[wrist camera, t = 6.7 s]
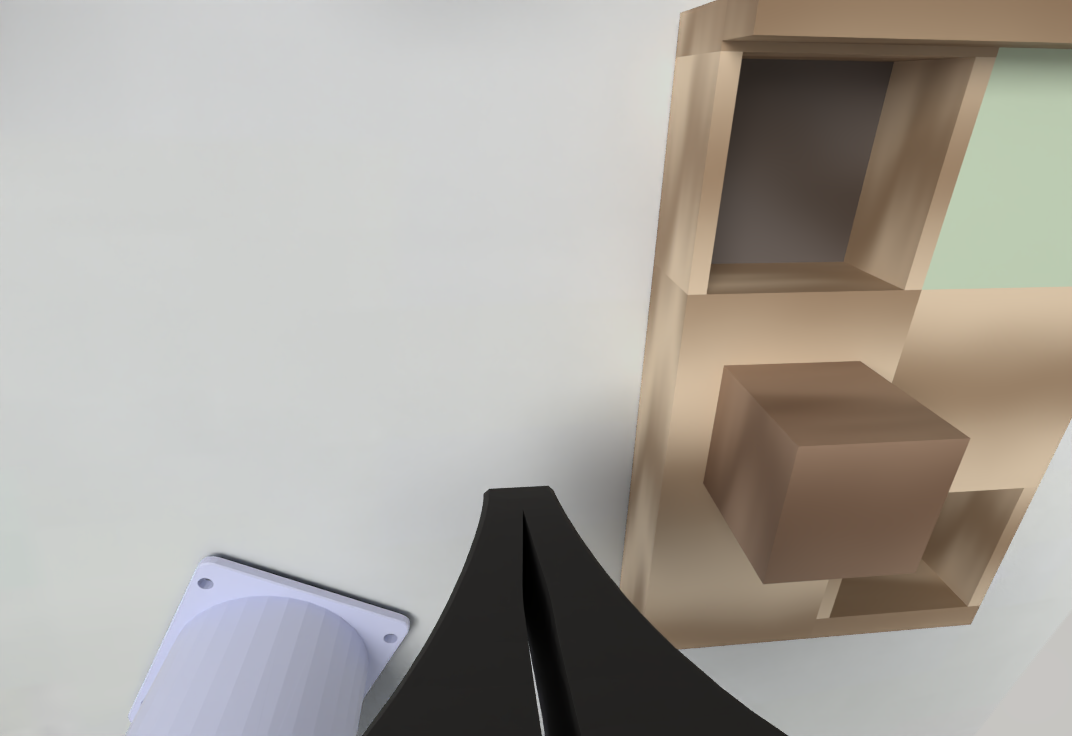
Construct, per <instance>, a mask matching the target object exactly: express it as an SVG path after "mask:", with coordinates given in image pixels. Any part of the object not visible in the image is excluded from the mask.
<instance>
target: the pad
mask: <svg viewBox="0 0 1072 736" xmlns="http://www.w3.org/2000/svg"><path fill="white" fill-rule="evenodd" d="M1027 287H1072V49H1046V48H1006V47H999V50H998V54H997V57H996V60H995V63H994V66H993V69H992V72H991V75H990V79H989V82H988V85H987V88H986V91H985V94H984V97H983V100H982V103H981V107H980V110H979V113H978V116H977V119H976V122H975V125H974V128H973V132H972V135H971V138H970V141H969V144H968V147H967V150H966V153H965V156H964V160H963V163H962V166H961V169H960V172H959V175H958V178H957V181H956V185H955V188H954V191H953V194H952V197H951V200H950V203H949V206H948V209H947V213H946V216H945V219H944V222H943V225H942V228H941V231H940V234H939V238H938V241H937V244H936V247H935V250H934V253H933V256H932V259H931V263H930V266H929V269H928V272H927V275H926V278H925V281H924V284H923V287H922V290H936V289H980V288H1027Z"/></svg>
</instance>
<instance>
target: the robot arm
mask: <svg viewBox="0 0 1072 736" xmlns="http://www.w3.org/2000/svg"><path fill="white" fill-rule="evenodd" d="M204 578H207V579H210V580H212V581H210V580H206V579H204ZM409 627H410V621H409V619H408V618H407V617H406V616H404V615H402V614H400V613H396V612H393V611H390V610H387V609H384V608H380V607H377V606H374V605H371V604H368V603H364V602H361V601H358V600H355V599H352V598H348V597H345V596H342V595H339V594H336V593H332V592H329V591H326V590H323V589H320V588H316V587H313V586H310V585H307V584H304V583H300V582H297V581H294V580H291V579H288V578H284V577H281V576H278V575H275V574H272V573H268V572H265V571H262V570H259V569H255V568H252V567H249V566H246V565H243V564H239V563H236V562H233V561H230V560H227V559H223V558H220V557H216V556H209V557H205V558H203V559H202V560H201V561H200V562H199V564H198V566H197V568H196V570H195V572H194V574H193V576H192V578H191V580H190V583H189V585H188V587H187V589H186V591H185V593H184V596H183V598H182V600H181V602H180V604H179V606H178V609H177V611H176V613H175V615H174V617H173V619H172V621H171V624H170V626H169V628H168V630H167V632H166V634H165V637H164V639H163V641H162V643H161V645H160V647H159V650H158V652H157V654H156V656H155V658H154V660H153V663H152V665H151V667H150V669H149V671H148V673H147V676H146V678H145V680H144V682H143V684H142V686H141V689H140V691H139V693H138V695H137V697H136V699H135V701H134V704H133V706H132V708H131V710H130V712H129V714H128V718H129V720H130V722H132V723H131V725H130V727H129V729H128V731H127V732H126V734H125V736H357V731H358V725H359V719H360V713H361V708H362V702H363V699H364V697H365V696H366V694H367V693H368V691H369V690H370V688H371V687H372V685H373V684H374V682H375V681H376V679H377V678H378V676H379V675H380V673H381V672H382V670H383V669H384V667H385V666H386V665H387V663H388V662H389V660H390V659H391V657H392V656H393V654H394V653H395V651H396V650H397V648H398V647H399V645H400V644H401V642H402V641H403V639H404V638H405V636H406V635H407V634H408V631H409ZM390 634H393V635H390ZM528 643H529V645H528ZM529 648H530V652H529ZM530 653H531V659H532V664H533V669H534V675H535V680H536V686H537V691H538V696H539V702H540V707H541V712H542V718H543V725H544V732H545V736H788V735H786V734H785V733H783V732H782V731H780V730H779V729H778V728H776V727H775V726H773V725H772V724H770V723H769V722H767V721H766V720H764V719H763V718H761V717H760V716H758V715H757V714H755V713H754V712H753V711H751V710H750V709H749V708H747V707H746V706H745V705H743V704H742V703H741V702H739V701H738V700H737V699H736V698H734V697H733V696H732V695H730V694H729V693H728V692H727V691H725V690H724V689H723V688H721V687H720V686H719V685H718V684H717V683H716V682H714V681H713V680H712V679H711V678H710V677H709V676H707V675H706V674H705V673H704V672H703V671H702V670H701V669H699V668H698V667H697V666H696V665H695V664H694V663H692V662H691V661H690V660H689V659H688V658H687V657H685V656H684V655H683V654H682V653H681V652H680V651H679V650H677V649H676V648H675V647H674V646H673V645H672V644H671V643H670V642H669V641H668V640H667V639H666V638H665V637H664V636H663V635H662V634H661V633H660V632H659V631H658V630H657V629H656V628H655V627H654V626H653V625H652V624H651V623H650V622H649V621H648V620H647V619H646V618H645V617H644V616H643V615H642V614H641V613H640V612H639V610H638V609H637V608H636V607H635V606H634V605H633V604H632V603H631V602H630V600H629V599H628V598H627V597H626V596H625V595H624V594H623V592H622V591H621V590H620V589H619V588H618V586H617V585H616V584H615V583H614V581H613V580H612V579H611V578H610V576H609V575H608V574H607V573H606V571H605V570H604V569H603V568H602V566H601V565H600V564H599V562H598V561H597V560H596V558H595V557H594V555H593V554H592V553H591V551H590V550H589V548H588V547H587V546H586V544H585V543H584V541H583V540H582V539H581V537H580V536H579V534H578V533H577V531H576V529H575V528H574V526H573V525H572V523H571V521H570V520H569V518H568V517H567V515H566V513H565V512H564V510H563V508H562V506H561V505H560V503H559V501H558V499H557V497H556V495H555V493H554V491H553V490H552V489H551V488H550V487H549V486H536V487H517V488H498V489H489V490H488V491H486V492H485V493H484V499H483V507H482V512H481V517H480V521H479V524H478V528H477V531H476V534H475V537H474V540H473V543H472V546H471V548H470V551H469V554H468V557H467V559H466V562H465V565H464V567H463V569H462V572H461V574H460V576H459V578H458V581H457V583H456V585H455V587H454V589H453V592H452V594H451V596H450V598H449V600H448V602H447V604H446V606H445V608H444V610H443V612H442V614H441V616H440V618H439V620H438V622H437V624H436V625H435V627H434V629H433V631H432V633H431V634H430V636H429V638H428V640H427V641H426V643H425V645H424V647H423V648H422V650H421V651H420V653H419V655H418V656H417V658H416V659H415V661H414V663H413V664H412V666H411V667H410V669H409V671H408V672H407V674H406V675H405V677H404V678H403V680H402V681H401V683H400V684H399V686H398V687H397V689H396V690H395V692H394V693H393V695H392V696H391V697H390V699H389V700H388V701H387V703H386V704H385V705H384V707H383V708H382V709H381V711H380V712H379V714H378V715H377V716H376V718H375V719H374V720H373V722H372V723H371V724H370V726H369V727H368V729H367V730H366V731H365V733H364V734H363V735H362V736H542V734H541V728H540V721H539V714H538V708H537V701H536V694H535V688H534V681H533V674H532V666H531V659H530Z"/></svg>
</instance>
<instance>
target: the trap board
mask: <svg viewBox="0 0 1072 736" xmlns="http://www.w3.org/2000/svg"><path fill="white" fill-rule="evenodd" d="M999 47H1006V48H1046V49H1072V0H716V1H713V2H710V3H708V4H705V5H702V6H699V7H696V8H693V9H690V10H687V11H685V12H682V13H680V22H679V32H678V41H677V51H676V60H675V70H674V79H673V89H672V98H671V107H670V117H669V126H668V136H667V145H666V155H665V164H664V174H663V183H662V192H661V202H660V211H659V221H658V230H657V240H656V249H655V259H654V268H653V277H652V287H651V296H650V306H649V315H648V325H647V334H646V344H645V353H644V362H643V372H642V381H641V391H640V400H639V410H638V419H637V429H636V438H635V447H634V457H633V466H632V476H631V485H630V495H629V504H628V513H627V523H626V532H625V542H624V551H623V561H622V570H621V580H620V590H621V591H622V592H623V594H624V595H625V596H626V597H627V598H628V599H629V600H630V602H631V603H632V604H633V605H634V606H635V607H636V608H637V609H638V610H639V612H640V613H641V614H642V615H643V616H644V617H645V618H646V619H647V620H648V621H649V622H650V623H651V624H652V625H653V626H654V627H655V628H656V629H657V630H658V631H659V632H660V633H661V634H662V635H663V636H664V637H665V638H666V639H667V640H668V641H669V642H670V643H671V644H672V645H673V646H674V647H675V648H676V649H689V648H701V647H712V646H724V645H736V644H747V643H759V642H771V641H782V640H794V639H806V638H817V637H829V636H841V635H852V634H864V633H876V632H887V631H899V630H911V629H922V628H934V627H946V626H957V625H969V624H971V623H972V621H973V619H974V617H975V615H976V612H977V610H978V608H979V606H980V604H981V602H982V600H983V598H984V596H985V594H986V592H987V590H988V588H989V586H990V584H991V582H992V580H993V578H994V576H995V574H996V572H997V570H998V568H999V566H1000V563H1001V561H1002V559H1003V557H1004V555H1005V553H1006V551H1007V549H1008V547H1009V545H1010V543H1011V541H1012V539H1013V537H1014V535H1015V533H1016V531H1017V529H1018V527H1019V525H1020V523H1021V521H1022V519H1023V516H1024V514H1025V512H1026V510H1027V508H1028V506H1029V504H1030V502H1031V500H1032V498H1033V496H1034V494H1035V492H1036V490H1037V488H1038V486H1039V484H1040V482H1041V480H1042V478H1043V476H1044V474H1045V472H1046V469H1047V467H1048V465H1049V463H1050V461H1051V459H1052V457H1053V455H1054V453H1055V451H1056V449H1057V447H1058V445H1059V443H1060V441H1061V439H1062V437H1063V435H1064V433H1065V431H1066V429H1067V427H1068V425H1069V423H1070V420H1071V418H1072V287H1027V288H980V289H936V290H922V287H923V284H924V281H925V278H926V275H927V272H928V269H929V266H930V263H931V259H932V256H933V253H934V250H935V247H936V244H937V241H938V238H939V234H940V231H941V228H942V225H943V222H944V219H945V216H946V213H947V209H948V206H949V203H950V200H951V197H952V194H953V191H954V188H955V185H956V181H957V178H958V175H959V172H960V169H961V166H962V163H963V160H964V156H965V153H966V150H967V147H968V144H969V141H970V138H971V135H972V132H973V128H974V125H975V122H976V119H977V116H978V113H979V110H980V107H981V103H982V100H983V97H984V94H985V91H986V88H987V85H988V82H989V79H990V75H991V72H992V69H993V66H994V63H995V60H996V57H997V54H998V50H999ZM844 361H861V362H862V363H864V364H865V365H867V366H868V367H869V368H871V369H872V370H874V371H875V372H877V373H878V374H879V375H881V376H882V377H884V378H885V379H887V380H888V381H889V382H891V383H892V384H894V385H895V386H897V387H898V388H899V389H901V390H902V391H904V392H905V393H907V394H908V395H909V396H911V397H912V398H914V399H915V400H917V401H918V402H919V403H921V404H922V405H924V406H925V407H927V408H928V409H929V410H931V411H932V412H934V413H935V414H937V415H938V416H939V417H941V418H942V419H944V420H945V421H947V422H948V423H949V424H951V425H952V426H954V427H955V428H957V429H958V430H959V431H961V432H962V433H964V434H965V435H967V436H968V437H969V438H971V439H970V441H969V443H968V446H967V448H966V451H965V453H964V456H963V458H962V460H961V463H960V465H959V468H958V470H957V473H956V475H955V478H954V480H953V482H952V485H951V487H950V490H949V492H948V495H947V497H946V499H945V502H944V504H943V507H942V509H941V512H940V514H939V517H938V519H937V521H936V524H935V526H934V529H933V531H932V534H931V536H930V539H929V541H928V543H927V546H926V548H925V551H924V553H923V556H922V558H921V560H920V563H919V565H918V568H917V570H916V573H911V574H897V575H884V576H870V577H856V578H843V579H829V580H816V581H802V582H788V583H775V584H763V583H762V582H761V580H760V578H759V577H758V575H757V573H756V572H755V570H754V568H753V566H752V565H751V563H750V561H749V560H748V558H747V556H746V555H745V553H744V551H743V550H742V548H741V546H740V545H739V543H738V541H737V540H736V538H735V536H734V534H733V533H732V531H731V529H730V528H729V526H728V524H727V523H726V521H725V519H724V518H723V516H722V514H721V513H720V511H719V509H718V507H717V506H716V504H715V502H714V501H713V499H712V497H711V496H710V494H709V492H708V491H707V489H706V487H705V486H704V484H703V481H704V476H705V470H706V464H707V459H708V453H709V447H710V442H711V436H712V430H713V425H714V419H715V413H716V408H717V402H718V396H719V391H720V385H721V379H722V374H723V368H724V365H752V364H782V363H813V362H844Z"/></svg>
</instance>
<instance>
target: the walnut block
mask: <svg viewBox="0 0 1072 736" xmlns="http://www.w3.org/2000/svg"><path fill="white" fill-rule="evenodd" d="M970 439H971V438H969V437H968V436H967V435H965V434H964V433H962V432H961V431H959V430H958V429H957V428H955V427H954V426H952V425H951V424H949V423H948V422H947V421H945V420H944V419H942V418H941V417H939V416H938V415H937V414H935V413H934V412H932V411H931V410H929V409H928V408H927V407H925V406H924V405H922V404H921V403H919V402H918V401H917V400H915V399H914V398H912V397H911V396H909V395H908V394H907V393H905V392H904V391H902V390H901V389H899V388H898V387H897V386H895V385H894V384H892V383H891V382H889V381H888V380H887V379H885V378H884V377H882V376H881V375H879V374H878V373H877V372H875V371H874V370H872V369H871V368H869V367H868V366H867V365H865V364H864V363H862V362H861V361H844V362H813V363H782V364H752V365H724V368H723V374H722V379H721V385H720V391H719V396H718V402H717V408H716V413H715V419H714V425H713V430H712V436H711V442H710V447H709V453H708V459H707V464H706V470H705V476H704V481H703V484H704V486H705V487H706V489H707V491H708V492H709V494H710V496H711V497H712V499H713V501H714V502H715V504H716V506H717V507H718V509H719V511H720V513H721V514H722V516H723V518H724V519H725V521H726V523H727V524H728V526H729V528H730V529H731V531H732V533H733V534H734V536H735V538H736V540H737V541H738V543H739V545H740V546H741V548H742V550H743V551H744V553H745V555H746V556H747V558H748V560H749V561H750V563H751V565H752V566H753V568H754V570H755V572H756V573H757V575H758V577H759V578H760V580H761V582H762V583H763V584H775V583H788V582H802V581H816V580H829V579H843V578H856V577H870V576H884V575H897V574H911V573H916V570H917V568H918V565H919V563H920V560H921V558H922V556H923V553H924V551H925V548H926V546H927V543H928V541H929V539H930V536H931V534H932V531H933V529H934V526H935V524H936V521H937V519H938V517H939V514H940V512H941V509H942V507H943V504H944V502H945V499H946V497H947V495H948V492H949V490H950V487H951V485H952V482H953V480H954V478H955V475H956V473H957V470H958V468H959V465H960V463H961V460H962V458H963V456H964V453H965V451H966V448H967V446H968V443H969V441H970Z"/></svg>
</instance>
